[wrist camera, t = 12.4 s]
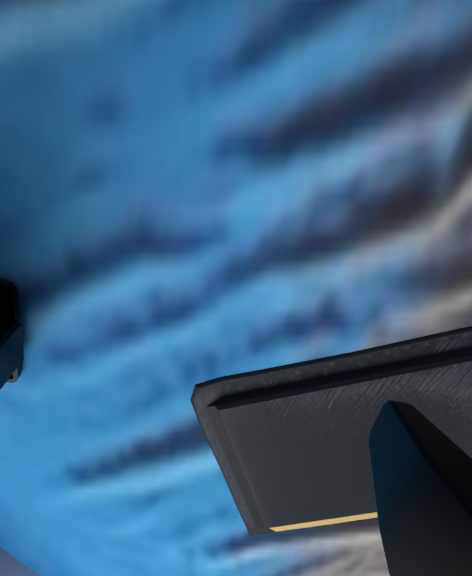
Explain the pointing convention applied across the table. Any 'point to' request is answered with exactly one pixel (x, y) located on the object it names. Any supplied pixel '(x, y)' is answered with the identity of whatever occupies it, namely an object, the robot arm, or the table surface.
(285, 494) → the dark grey flat block
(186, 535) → the table surface
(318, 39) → the table surface
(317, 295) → the table surface
